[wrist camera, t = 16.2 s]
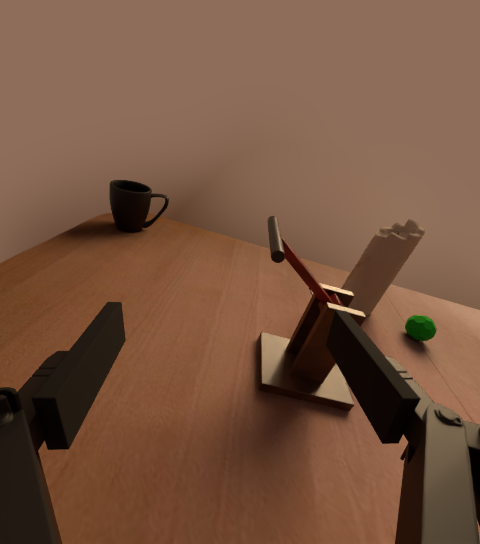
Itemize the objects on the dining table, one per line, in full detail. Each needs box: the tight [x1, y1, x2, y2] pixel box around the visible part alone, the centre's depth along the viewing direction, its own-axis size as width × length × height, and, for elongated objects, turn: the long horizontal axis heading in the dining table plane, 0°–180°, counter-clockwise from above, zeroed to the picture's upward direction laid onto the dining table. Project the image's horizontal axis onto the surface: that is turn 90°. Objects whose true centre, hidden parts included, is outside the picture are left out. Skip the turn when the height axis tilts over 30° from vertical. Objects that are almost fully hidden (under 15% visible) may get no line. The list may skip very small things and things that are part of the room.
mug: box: [110, 180, 169, 232], centre depth 57 cm, size 8×12×10 cm
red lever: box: [268, 216, 345, 311], centre depth 29 cm, size 14×10×2 cm
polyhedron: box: [405, 315, 436, 341], centre depth 50 cm, size 5×5×5 cm
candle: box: [311, 219, 425, 315], centre depth 51 cm, size 7×14×20 cm, turn 83°
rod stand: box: [259, 283, 366, 411], centre depth 33 cm, size 12×9×13 cm
